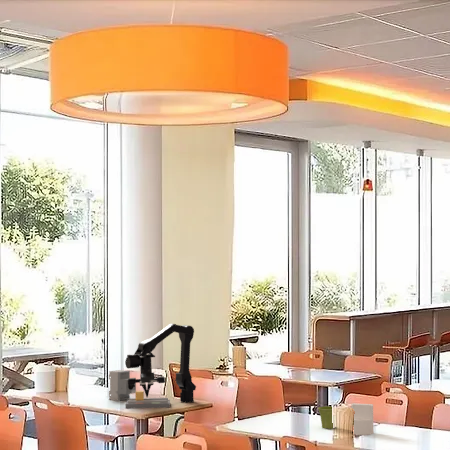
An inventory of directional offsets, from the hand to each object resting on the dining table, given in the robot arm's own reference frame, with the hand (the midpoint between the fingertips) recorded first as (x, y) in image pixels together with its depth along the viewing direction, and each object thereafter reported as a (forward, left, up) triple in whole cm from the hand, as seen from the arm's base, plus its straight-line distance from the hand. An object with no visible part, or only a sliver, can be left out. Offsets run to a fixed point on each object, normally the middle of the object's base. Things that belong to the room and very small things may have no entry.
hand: (147, 397), depth 482 cm
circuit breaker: (+14, -24, -4) cm, 28 cm away
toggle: (+4, 0, -2) cm, 4 cm away
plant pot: (-81, +75, -4) cm, 111 cm away
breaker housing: (0, 0, -4) cm, 4 cm away
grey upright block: (-93, +89, -4) cm, 129 cm away
